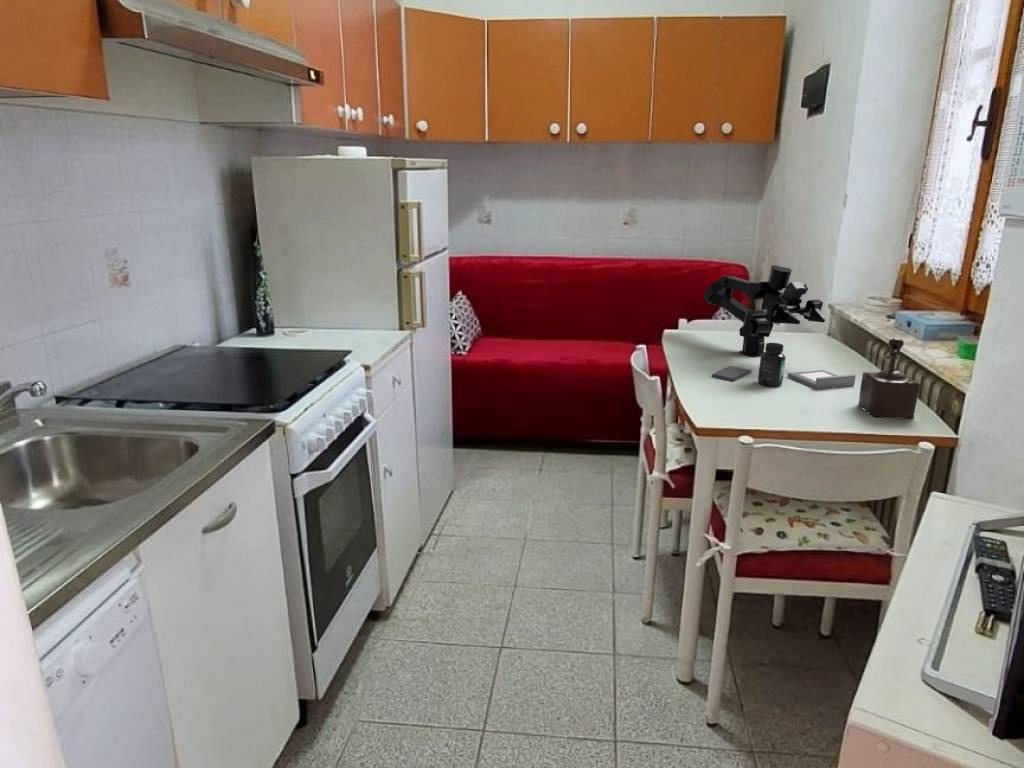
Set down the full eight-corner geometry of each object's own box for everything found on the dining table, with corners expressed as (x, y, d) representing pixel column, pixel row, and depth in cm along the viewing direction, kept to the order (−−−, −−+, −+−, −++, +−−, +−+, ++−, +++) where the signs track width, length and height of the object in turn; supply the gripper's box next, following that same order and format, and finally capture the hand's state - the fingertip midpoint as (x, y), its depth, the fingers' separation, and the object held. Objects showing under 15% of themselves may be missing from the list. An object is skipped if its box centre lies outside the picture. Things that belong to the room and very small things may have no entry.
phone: (711, 376, 213) (712, 374, 213) (730, 368, 223) (730, 365, 222) (733, 381, 209) (734, 378, 209) (751, 372, 218) (751, 369, 218)
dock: (787, 376, 214) (789, 366, 214) (822, 373, 218) (824, 363, 217) (817, 389, 203) (819, 378, 202) (854, 385, 207) (855, 375, 206)
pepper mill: (917, 419, 180) (930, 351, 175) (873, 417, 181) (885, 349, 175) (890, 399, 195) (901, 336, 190) (849, 398, 196) (859, 335, 190)
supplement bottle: (786, 387, 205) (792, 347, 201) (764, 387, 203) (769, 347, 200) (774, 380, 211) (779, 341, 207) (753, 381, 210) (758, 341, 206)
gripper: (761, 279, 218) (793, 298, 205) (810, 277, 224) (844, 295, 211) (752, 312, 223) (783, 332, 210) (800, 309, 229) (833, 329, 216)
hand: (812, 321), depth 212 cm, fingers open, 9 cm apart
